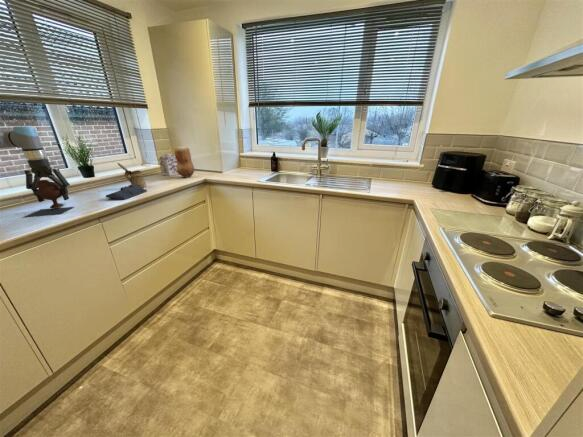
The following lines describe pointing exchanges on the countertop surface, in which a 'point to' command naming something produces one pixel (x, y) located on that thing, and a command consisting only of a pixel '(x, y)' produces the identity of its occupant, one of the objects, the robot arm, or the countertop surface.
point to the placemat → (49, 212)
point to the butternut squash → (184, 161)
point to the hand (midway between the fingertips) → (54, 200)
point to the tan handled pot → (134, 177)
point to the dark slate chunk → (127, 192)
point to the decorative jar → (168, 164)
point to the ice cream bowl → (49, 192)
